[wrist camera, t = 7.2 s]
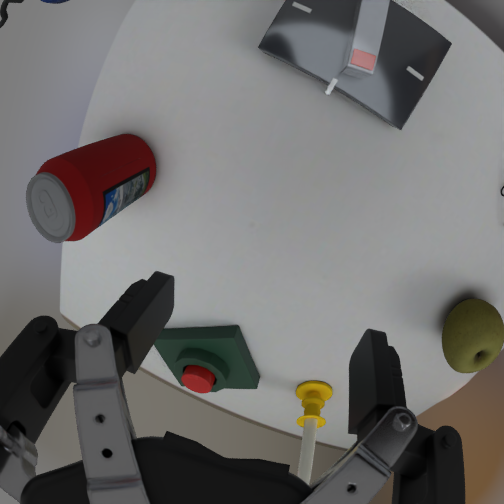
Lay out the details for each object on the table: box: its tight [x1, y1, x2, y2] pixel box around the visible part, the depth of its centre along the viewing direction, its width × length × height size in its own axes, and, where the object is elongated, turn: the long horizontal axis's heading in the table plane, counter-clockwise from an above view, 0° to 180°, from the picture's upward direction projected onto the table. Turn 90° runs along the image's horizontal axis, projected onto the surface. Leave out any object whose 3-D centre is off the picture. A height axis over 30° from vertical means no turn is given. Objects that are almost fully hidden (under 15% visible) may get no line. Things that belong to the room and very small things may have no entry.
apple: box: [442, 299, 504, 373], centre depth 25 cm, size 8×8×7 cm
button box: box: [154, 325, 260, 392], centre depth 37 cm, size 12×10×4 cm
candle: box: [296, 381, 332, 485], centre depth 32 cm, size 5×5×16 cm
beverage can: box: [26, 134, 156, 243], centre depth 22 cm, size 7×7×12 cm
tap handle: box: [341, 0, 390, 79], centre depth 14 cm, size 6×2×5 cm, turn 168°
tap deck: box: [258, 0, 452, 130], centre depth 17 cm, size 12×11×3 cm
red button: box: [181, 365, 215, 393], centre depth 35 cm, size 4×4×2 cm
